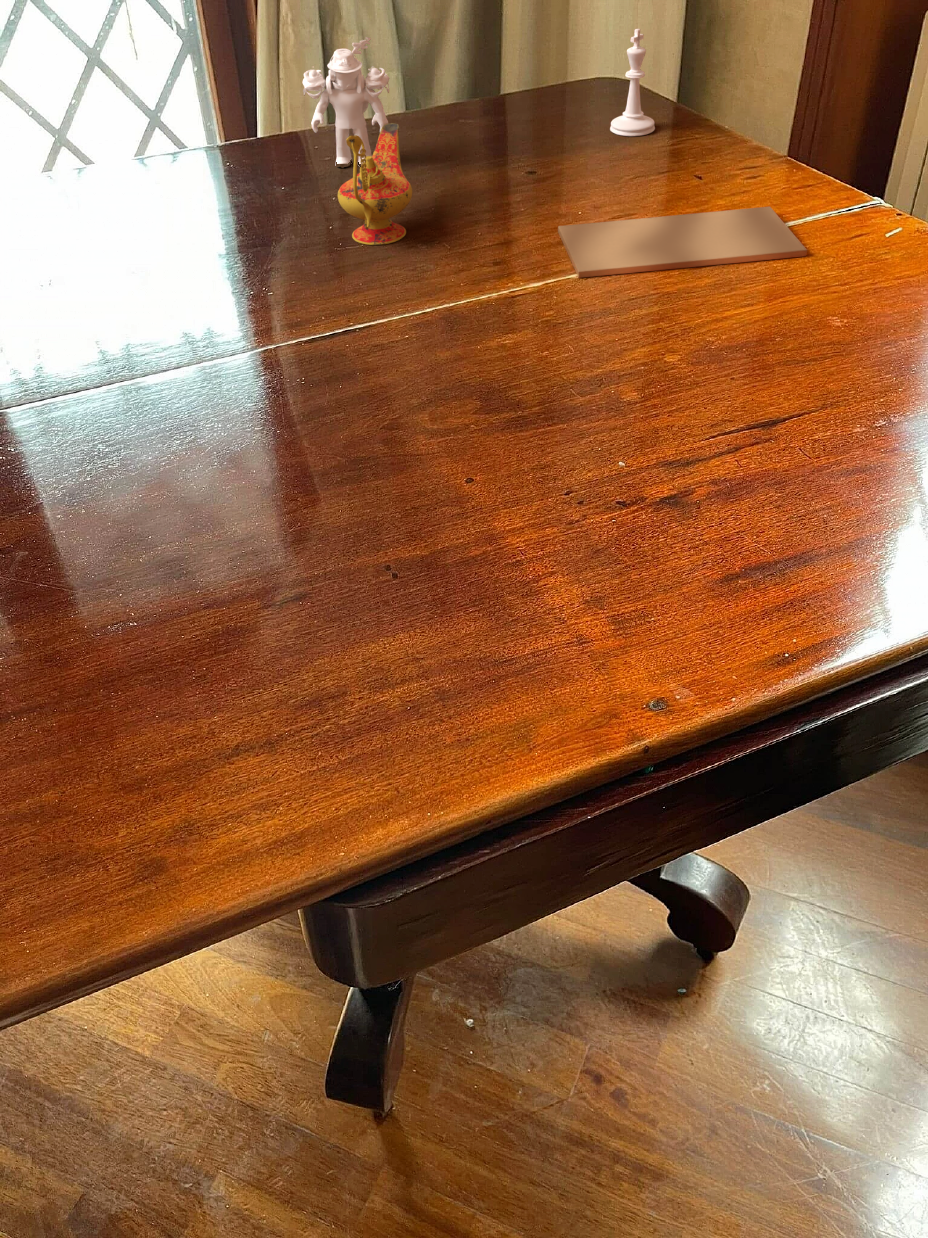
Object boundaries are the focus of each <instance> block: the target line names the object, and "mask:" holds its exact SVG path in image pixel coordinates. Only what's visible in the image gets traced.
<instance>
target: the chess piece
mask: <svg viewBox="0 0 928 1238" xmlns="http://www.w3.org/2000/svg"><path fill="white" fill-rule="evenodd" d="M644 36H645V35H644V34H643V33H641V28H635V29H634V33H633V36H631V37H630V43H633V46H631V47H629V48H627V50H626V55H627V58H628V63H629V67H630V69H629V70H627V71H626V72H625V74H624V75H625V76H624V77H625V78H628V79H629V80H630V81H629V89H628V94H627V100H626V106H625V111H623V112H622V115H619V116H617V117H614V118H613V119H612V120H611V122H610V127H609V131H610V132H611V133H613V134H614V135H617V136H621V137H641V136H647V135H649V134H651V133H653V132H654V131H655V130H656V127H655V120H654V119H653V118H652V117H650V116H647V115H644V114H645V112H644V111H643V110H642V106H641V105H642V104H641V92H640V91H641V89H640V87H641V86H640V84H641V83H640V79H642V78H644V77H646V71H644V70H642V69H641V67H642V66H643V62H644V58H645V56H646V54H647V49H646V48H645V47H643V46H641V45H640V44H641V41H642V40H644V38H645V37H644Z"/></svg>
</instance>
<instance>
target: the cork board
mask: <svg viewBox="0 0 928 1238" xmlns="http://www.w3.org/2000/svg"><path fill="white" fill-rule="evenodd" d="M557 234H558V235H559V237H560V239H561V242H562V244H563V247H564V248H565V251H566V253H567V255H568V257H569V259H570V262H571V264H572V267H573V268H574V270H575V273H576V275H577V277H578V278H579V279H583V278H592V277H602V276H613V275H623V274H635V273H645V272H654V271H666V270H677V269H685V268H686V269H687V268H697V267H698V268H699V267H707V266H717V265H718V266H719V265H726V264H727V265H728V264H739V263H740V264H741V263H746V262H747V263H749V262H759V261H760V262H761V261H769V260H780V259H781V260H782V259H791V258H800V257H806V256H807V253H808V249H807V248H806V247H805V245H804V244H803V242H801V241H800V240H799V239H798V237H796V235H795V234H794V233H793V231H792V230H791V229H790V228H789V226H788V225H786V224H785V222H784V221H783V220H782V219H781V218H780V216H779V215H778V214H777V212H776V211H775V210H774V209H773V208H772V207H771V206H761V207H750V208H740V209H739V208H738V209H729V210H727V209H726V210H718V211H717V210H716V211H707V212H697V213H685V214H676V215H675V214H674V215H665V216H654V217H653V216H652V217H641V218H631V219H619V220H609V221H600V222H599V221H598V222H589V223H579V224H568V225H558V227H557Z"/></svg>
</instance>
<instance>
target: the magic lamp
mask: <svg viewBox="0 0 928 1238" xmlns="http://www.w3.org/2000/svg"><path fill="white" fill-rule="evenodd" d="M399 135H400V125H399V124H398V123H397V122H391V123H389V122H388V124H385V125H384V126H383V127H382V129H381V132H380V131H379V135H378V138H377V142H376V145H375V147H374V150H373V153H372V156H367V157H366V155H365V153H366V150H365V149H364V143H363V141H362V139H361V138H360V137H359V136H357V135H354V134H353V135H352V134H351V135H349V137H348V138H347V140H346V142H347V145H348V146H349V147H350V150H351V152H352V153H353V169H352V170H353V171H352V178H350V179H349V180H347V181H345V182H344V183H343V184H341V186H340V187H339V188H338V192H337V200H338V203H339V205H340V207H341V208H342V210H344V211H345V212H346V213H347V214H349V215H350V216H351V217H354V218H357V219H360V220H363V221H364V223H363V224H362V225H361V226H359V227H357V228H356V229H354V230H353V232H352V234H351V237H352V239H353V241H355V242H356V243H359V244H362V245H365V246H366V245H367V246H382V245H388V244H392V243H395V242H398V241H400V240H402V239H403V238H404V237H405V236H406V234H407V230H406V228H405V227H404V226H403V225H401V224H399V223H395V222H393V221H392V220H391V218H393V217H394V216H397V215H398V214H400V213H402V212H403V211H404V210H405V209H406V208H407V207H408V205H409V204H410V202H411V201H412V198H413V197H412V196H413V188H412V185H411V183H410V181H409V180H408V179H407V177H406V175H405V174H404V171H403V169H402V164H401V156H400V138H399V137H400V136H399ZM361 144H362V149H361V150H360V147H361ZM359 150H360V154H359ZM361 152H362V153H361ZM358 156H360V159H361V161H360V163H361V167H360V166H359V172H358ZM364 156H365V157H364ZM362 158H364V159H362ZM364 161H365V162H364Z"/></svg>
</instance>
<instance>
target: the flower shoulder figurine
mask: <svg viewBox="0 0 928 1238" xmlns="http://www.w3.org/2000/svg"><path fill="white" fill-rule="evenodd" d="M371 40H372V38H371V37H369V36H365V39H362V40H359V42H352V44H351V45H352V47H353V49H352V50H351V49H348V48H337V49H335V51H334V52H333V55H332V56H331V58H330V60H329V62H328V63H327V65H326V66H327V68H328V75H327V76H326V77H325V78H324V76H323V74H322V73H321V72H322V70H321V69H308V70H306V71H305V72H303V77H304V78H303V79H302V85H303V87H304V88H303V90H302V93H303V96H306V94H307V95H308V96H309V97H310V98H311V99H313V100H317V99H319V100H318V102H317V104H316V107H315V110H314V113H313V116H312V120H311V122H310V123H311V129H312V131H313V132H314V133H315V134H317V132H319V128H318V126H319V125H320V124H321V125H324V118H325V117H324V113H325V112H326V111H327V109H328V107H329V105H330V104H331V106H332V108H333V110H334V112H335V122H334V127H335V143H336V145H335V146H336V147H335V148H336V153H335V154H336V159H335V163H336V162H337V164H348V163H349V162H350V160H351V159H352V160H353V157H352V153H351V152H352V151H351V148H350V147H349V146H348V145H347V142H346V140H347V138H348V137H349V136H350V130H351V129H352V133H353V136H354V135H357V136H359V137H360V138H361V139H362V141H363V143H364V149H365V150H366V153H365V155H366V157H367V156H372V155H373V153H372V150H371V145H370V141H369V135H368V134H369V133H368V128H367V125H368V124H367V121H366V118H365V112H366V111H367V110H368V107H369V105H370V106H371V109H372V110H373V112H374V115H373V117H372V118H371V119H372V120H371V126H375V123H378V125H379V133H380V132H381V129H382V127H383V126H384V125H385V124H389V121H388V118H387V116H386V112H385V109H384V106H383V103H382V101H381V99H380V98H379V96H380V95H381V94H382V92H383V90H384V88H385V89H386V92H387V94H390V84H389V81H390V77H389V75H388V74H387V73H386V69H384V68H382V67H379V68H378V67H374V65H371V67H370V68H368V69H367V71H368V73H367V76H366V77H365V76H364V74H362V73H363V72H362V66H363V63H362V61H360V60H359V59H358V58H357V56H356V55H362V50H365V49H369V47H368V46H369V45H371V42H370V41H371ZM312 68H315V66H312ZM380 70H381V71H380ZM375 90H379V91H375ZM311 91H312V92H313V91H314V92H318V93H315V94H314V93H310V92H311ZM361 149H362V144H361V147H360V150H361ZM360 150H359V154H360ZM361 153H362V152H361ZM364 157H365V156H364ZM362 159H364V158H362ZM360 161H361V159H360V156H358V161H357V163H358V162H359V164H361V163H360ZM364 162H365V161H364Z"/></svg>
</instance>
